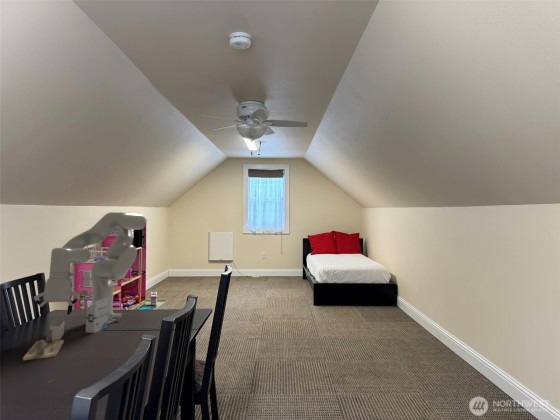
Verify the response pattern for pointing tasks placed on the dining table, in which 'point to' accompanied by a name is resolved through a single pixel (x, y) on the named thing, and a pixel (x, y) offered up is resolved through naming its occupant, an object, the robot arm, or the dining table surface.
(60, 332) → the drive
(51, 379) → the dining table surface
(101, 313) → the ink box
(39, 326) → the dining table surface
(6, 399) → the dining table surface
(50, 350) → the cradle
